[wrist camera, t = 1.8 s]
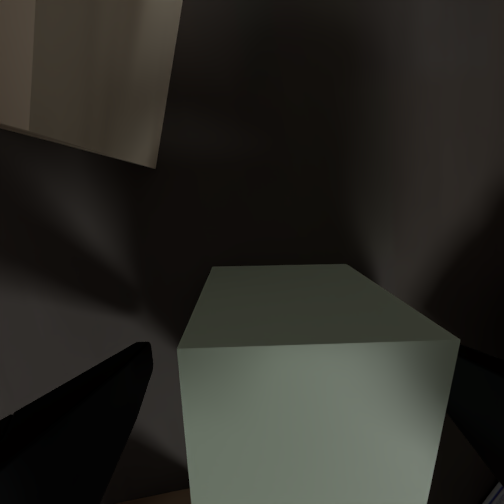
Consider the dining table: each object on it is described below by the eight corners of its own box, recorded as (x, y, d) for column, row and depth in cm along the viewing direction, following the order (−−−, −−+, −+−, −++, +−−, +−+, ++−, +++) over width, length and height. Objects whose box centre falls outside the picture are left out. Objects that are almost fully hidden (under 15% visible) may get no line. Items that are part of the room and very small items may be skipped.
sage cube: (218, 380, 10) (196, 550, 5) (212, 265, 9) (176, 348, 4) (336, 376, 10) (420, 538, 5) (345, 263, 9) (460, 339, 4)
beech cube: (-1, 128, 8) (-412, 13, 3) (5, -62, 7) (-626, -746, 2) (156, 169, 8) (28, 130, 3) (184, -3, 7) (58, -429, 2)
